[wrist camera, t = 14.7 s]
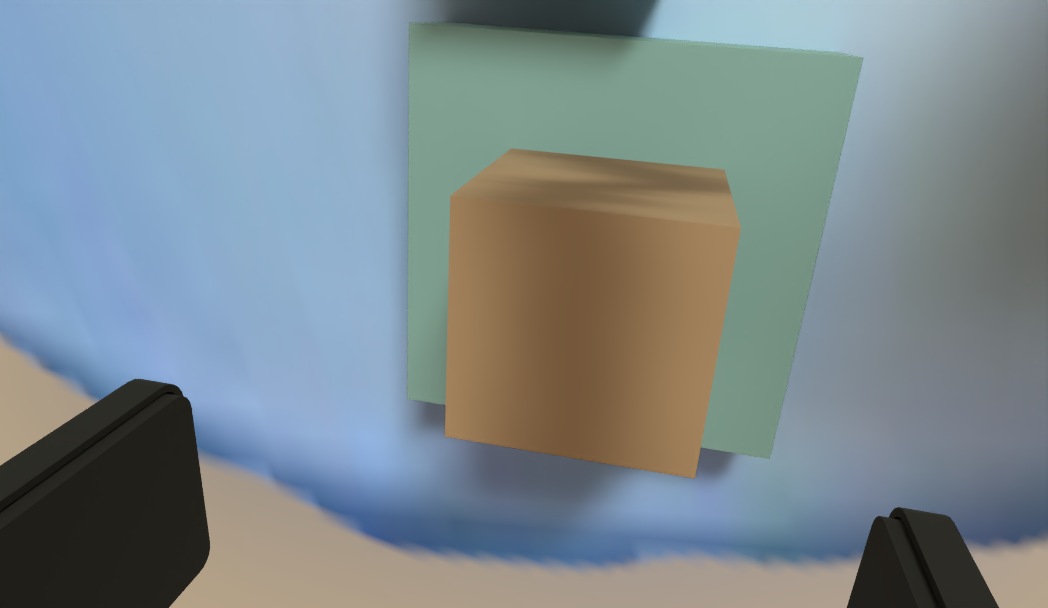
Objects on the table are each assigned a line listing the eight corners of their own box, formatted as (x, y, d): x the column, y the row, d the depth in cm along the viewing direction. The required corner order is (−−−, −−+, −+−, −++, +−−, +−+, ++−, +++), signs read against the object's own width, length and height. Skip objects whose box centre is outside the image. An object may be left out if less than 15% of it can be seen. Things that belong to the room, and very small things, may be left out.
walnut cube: (724, 169, 20) (741, 227, 14) (691, 364, 22) (694, 478, 17) (511, 148, 21) (449, 195, 15) (500, 336, 23) (444, 436, 18)
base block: (833, 51, 22) (863, 57, 18) (757, 397, 26) (769, 458, 23) (451, 22, 24) (409, 22, 20) (442, 349, 28) (407, 398, 25)
